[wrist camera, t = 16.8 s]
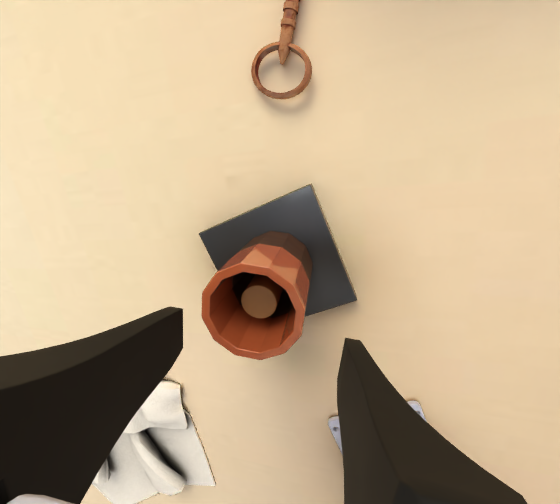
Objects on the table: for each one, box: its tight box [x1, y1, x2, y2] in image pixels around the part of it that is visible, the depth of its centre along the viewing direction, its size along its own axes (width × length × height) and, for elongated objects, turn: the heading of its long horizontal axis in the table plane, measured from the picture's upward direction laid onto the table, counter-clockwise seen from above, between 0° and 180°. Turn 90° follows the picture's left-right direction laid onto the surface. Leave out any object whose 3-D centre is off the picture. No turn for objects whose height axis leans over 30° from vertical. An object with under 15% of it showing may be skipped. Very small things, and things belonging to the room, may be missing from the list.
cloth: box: [92, 379, 216, 504], centre depth 30 cm, size 20×22×2 cm
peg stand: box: [199, 184, 357, 318], centre depth 19 cm, size 9×9×7 cm
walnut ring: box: [232, 231, 313, 318], centre depth 19 cm, size 5×5×4 cm
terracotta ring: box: [202, 244, 309, 360], centre depth 16 cm, size 5×5×4 cm
